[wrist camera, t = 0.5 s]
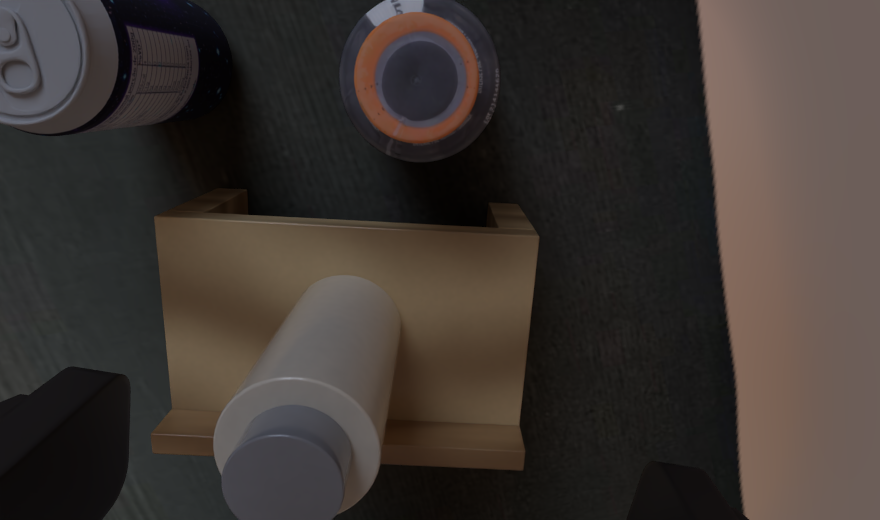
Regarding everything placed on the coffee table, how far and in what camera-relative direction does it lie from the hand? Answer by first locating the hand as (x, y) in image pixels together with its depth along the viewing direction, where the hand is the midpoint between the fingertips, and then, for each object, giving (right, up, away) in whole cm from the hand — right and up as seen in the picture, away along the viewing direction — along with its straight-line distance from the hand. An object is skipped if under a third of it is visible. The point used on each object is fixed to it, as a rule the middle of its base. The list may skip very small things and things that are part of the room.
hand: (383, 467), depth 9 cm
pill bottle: (0, +12, +20) cm, 23 cm away
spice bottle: (-3, 0, +16) cm, 16 cm away
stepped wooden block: (-3, +2, +23) cm, 23 cm away
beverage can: (-12, +13, +20) cm, 26 cm away
